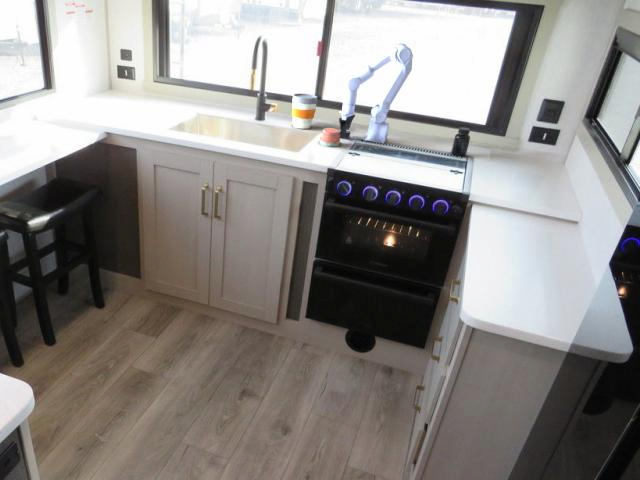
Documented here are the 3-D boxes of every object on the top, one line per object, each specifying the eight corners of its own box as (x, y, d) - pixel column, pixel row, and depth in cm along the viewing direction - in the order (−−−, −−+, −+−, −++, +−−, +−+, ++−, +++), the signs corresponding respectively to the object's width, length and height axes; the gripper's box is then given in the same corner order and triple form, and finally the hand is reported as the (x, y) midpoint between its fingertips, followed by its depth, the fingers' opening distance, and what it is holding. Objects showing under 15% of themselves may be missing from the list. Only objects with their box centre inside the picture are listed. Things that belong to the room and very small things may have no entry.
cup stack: (341, 142, 276) (343, 129, 272) (336, 148, 268) (338, 134, 265) (322, 139, 278) (324, 126, 275) (317, 144, 271) (319, 131, 268)
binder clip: (349, 138, 283) (350, 131, 281) (348, 139, 281) (349, 132, 279) (339, 136, 284) (340, 129, 283) (338, 137, 282) (339, 131, 280)
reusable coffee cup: (300, 122, 303) (303, 92, 295) (318, 127, 295) (322, 97, 288) (284, 125, 295) (287, 94, 287) (303, 130, 287) (307, 99, 280)
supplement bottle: (465, 153, 272) (472, 127, 265) (465, 157, 266) (472, 131, 260) (450, 151, 274) (457, 125, 267) (450, 155, 268) (456, 129, 262)
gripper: (344, 98, 280) (340, 126, 288) (337, 105, 269) (333, 133, 276) (358, 100, 278) (354, 128, 286) (352, 107, 267) (347, 136, 274)
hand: (344, 131), depth 281 cm, fingers open, 7 cm apart
